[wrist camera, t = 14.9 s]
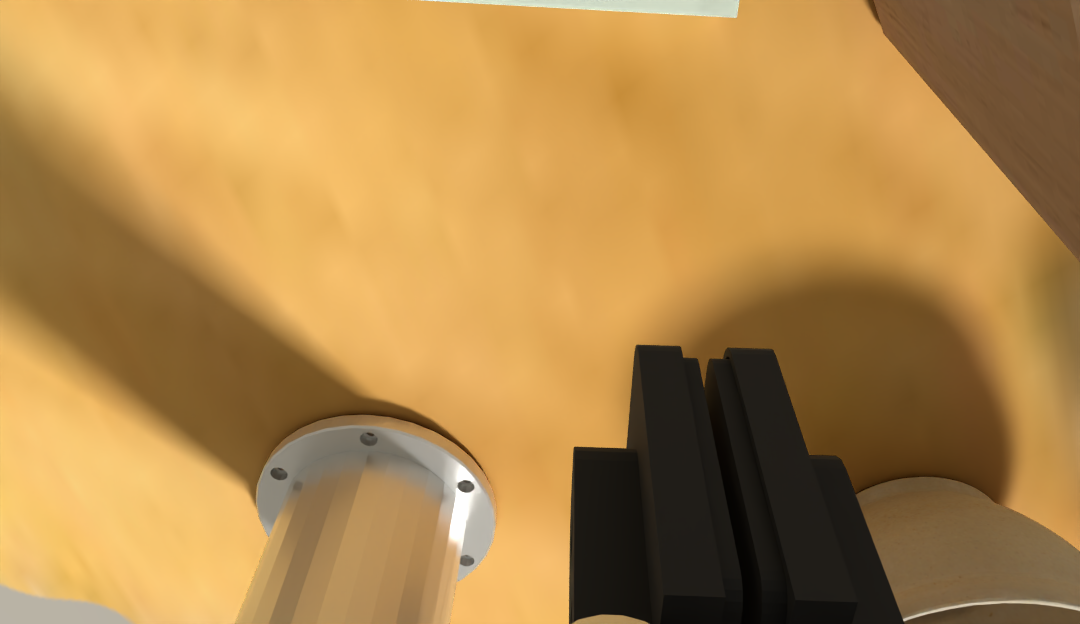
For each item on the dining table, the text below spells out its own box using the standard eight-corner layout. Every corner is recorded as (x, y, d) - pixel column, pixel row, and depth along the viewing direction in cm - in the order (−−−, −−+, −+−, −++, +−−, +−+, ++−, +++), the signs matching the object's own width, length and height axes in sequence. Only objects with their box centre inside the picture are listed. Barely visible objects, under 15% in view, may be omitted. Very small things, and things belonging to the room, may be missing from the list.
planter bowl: (1138, 463, 45) (1274, 655, 36) (969, 659, 54) (1043, 853, 45) (830, 386, 43) (892, 566, 34) (708, 600, 52) (731, 789, 43)
